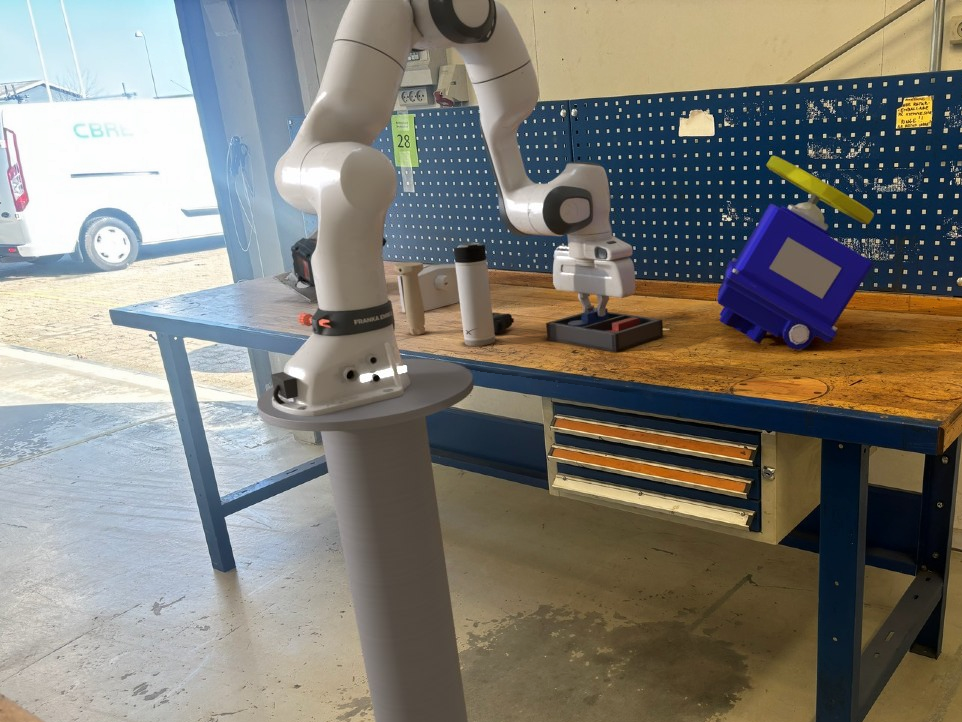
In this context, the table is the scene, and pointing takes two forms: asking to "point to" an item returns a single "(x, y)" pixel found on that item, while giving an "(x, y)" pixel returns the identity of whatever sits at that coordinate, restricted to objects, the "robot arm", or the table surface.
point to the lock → (435, 286)
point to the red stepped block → (624, 324)
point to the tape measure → (502, 322)
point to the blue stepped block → (589, 319)
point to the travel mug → (474, 295)
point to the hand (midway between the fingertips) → (594, 315)
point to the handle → (412, 296)
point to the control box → (794, 268)
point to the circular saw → (303, 267)
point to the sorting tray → (605, 332)
